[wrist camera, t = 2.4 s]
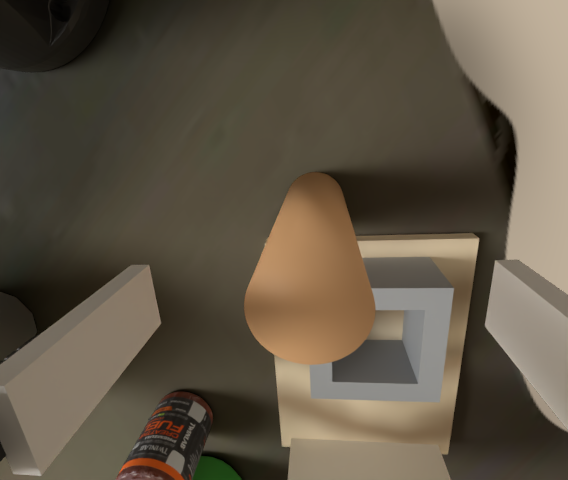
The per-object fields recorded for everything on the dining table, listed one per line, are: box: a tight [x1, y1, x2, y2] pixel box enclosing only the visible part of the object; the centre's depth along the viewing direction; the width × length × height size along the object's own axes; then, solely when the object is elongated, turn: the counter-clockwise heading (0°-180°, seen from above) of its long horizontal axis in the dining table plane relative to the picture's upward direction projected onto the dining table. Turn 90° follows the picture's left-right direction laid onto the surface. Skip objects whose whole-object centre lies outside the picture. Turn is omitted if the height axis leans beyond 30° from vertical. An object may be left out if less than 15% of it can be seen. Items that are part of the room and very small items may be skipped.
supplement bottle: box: [116, 391, 213, 480], centre depth 30 cm, size 6×6×11 cm
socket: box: [310, 257, 454, 402], centre depth 25 cm, size 9×9×5 cm
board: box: [265, 233, 479, 454], centre depth 30 cm, size 22×16×1 cm
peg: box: [244, 172, 376, 365], centre depth 19 cm, size 4×4×16 cm
